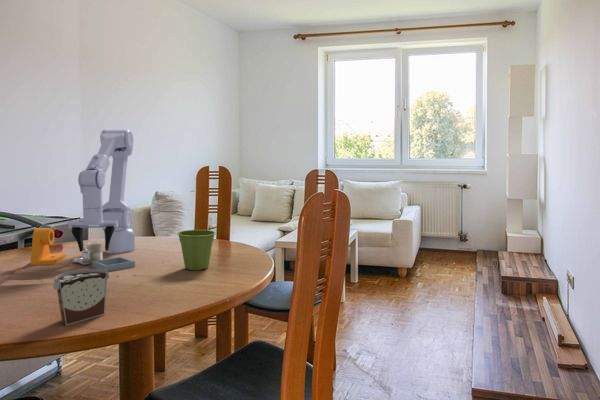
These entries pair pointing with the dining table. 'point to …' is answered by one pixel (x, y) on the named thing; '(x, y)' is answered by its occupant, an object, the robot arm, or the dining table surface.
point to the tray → (113, 264)
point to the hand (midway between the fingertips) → (94, 250)
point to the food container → (81, 294)
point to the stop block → (95, 251)
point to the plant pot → (196, 248)
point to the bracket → (44, 248)
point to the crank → (83, 257)
